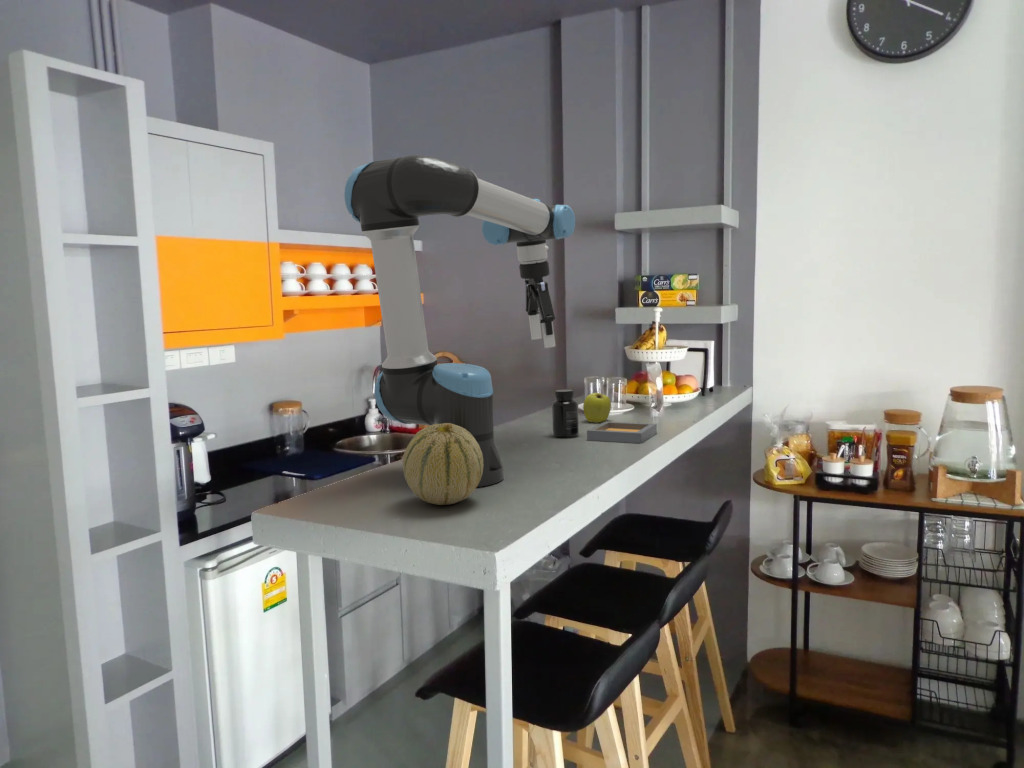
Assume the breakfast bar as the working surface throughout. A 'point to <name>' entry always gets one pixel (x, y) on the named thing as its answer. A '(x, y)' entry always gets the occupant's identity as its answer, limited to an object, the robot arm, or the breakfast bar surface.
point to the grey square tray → (622, 432)
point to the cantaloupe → (443, 464)
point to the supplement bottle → (565, 415)
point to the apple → (597, 407)
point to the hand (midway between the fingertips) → (543, 343)
